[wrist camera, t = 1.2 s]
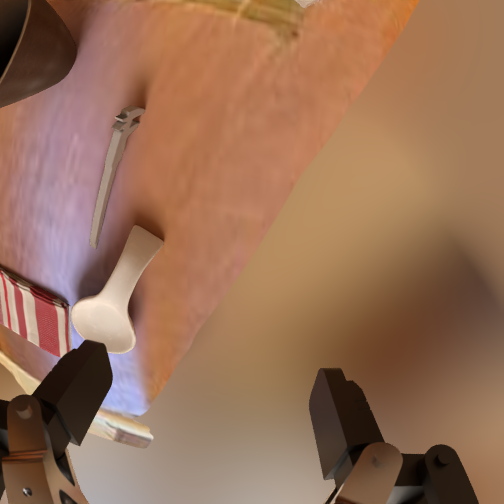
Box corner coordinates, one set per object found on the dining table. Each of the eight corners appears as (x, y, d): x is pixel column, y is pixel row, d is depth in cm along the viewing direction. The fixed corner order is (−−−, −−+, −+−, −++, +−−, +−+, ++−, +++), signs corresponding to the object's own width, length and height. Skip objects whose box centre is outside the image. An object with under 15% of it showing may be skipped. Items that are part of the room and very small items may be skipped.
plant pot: (105, 0, 20) (44, -44, 5) (101, 94, 26) (19, 86, 12) (25, 38, 19) (-45, 27, 5) (21, 123, 26) (-57, 140, 11)
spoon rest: (129, 350, 44) (119, 379, 38) (74, 319, 41) (58, 345, 34) (186, 251, 37) (177, 279, 30) (113, 207, 33) (89, 227, 27)
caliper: (139, 106, 28) (119, 103, 22) (146, 109, 28) (128, 107, 22) (91, 244, 35) (72, 265, 30) (97, 247, 35) (78, 268, 30)
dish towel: (-14, 254, 34) (-21, 260, 32) (72, 300, 39) (65, 309, 37) (-4, 315, 41) (-9, 322, 38) (74, 358, 46) (69, 367, 43)
